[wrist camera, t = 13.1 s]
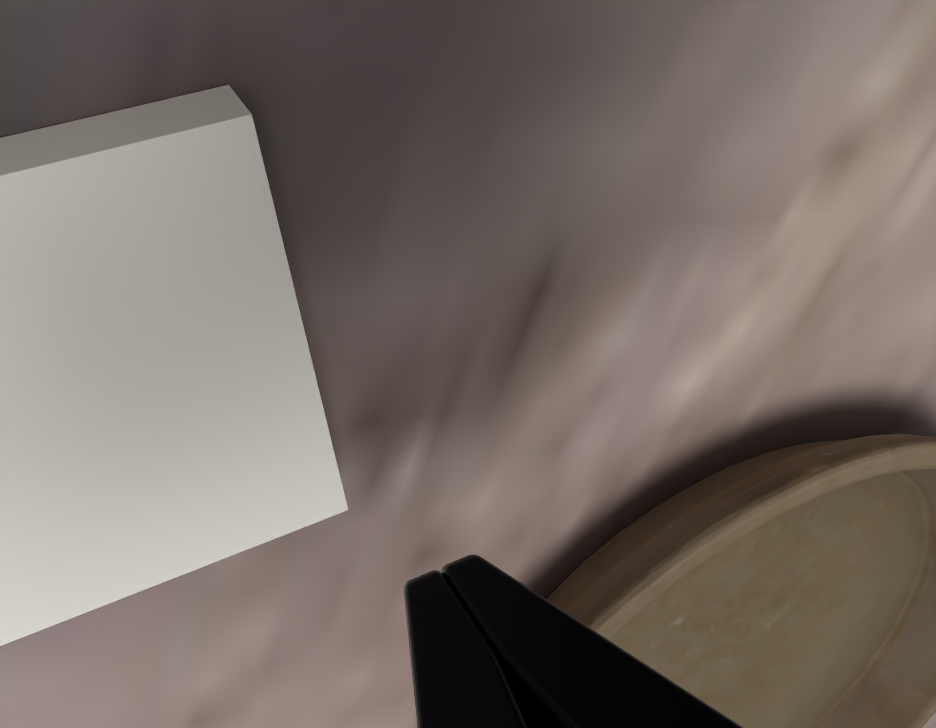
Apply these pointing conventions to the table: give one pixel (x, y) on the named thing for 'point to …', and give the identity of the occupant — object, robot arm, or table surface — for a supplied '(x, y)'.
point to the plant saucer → (784, 586)
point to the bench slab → (147, 359)
